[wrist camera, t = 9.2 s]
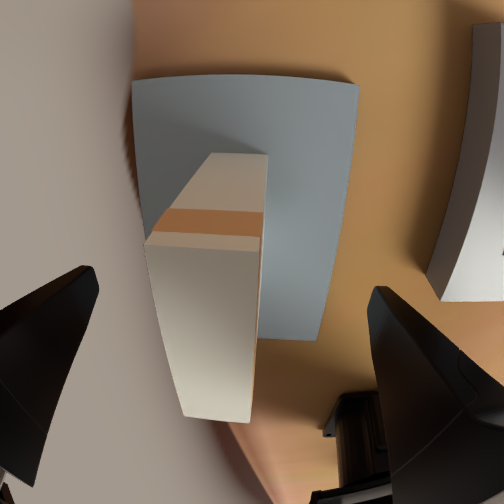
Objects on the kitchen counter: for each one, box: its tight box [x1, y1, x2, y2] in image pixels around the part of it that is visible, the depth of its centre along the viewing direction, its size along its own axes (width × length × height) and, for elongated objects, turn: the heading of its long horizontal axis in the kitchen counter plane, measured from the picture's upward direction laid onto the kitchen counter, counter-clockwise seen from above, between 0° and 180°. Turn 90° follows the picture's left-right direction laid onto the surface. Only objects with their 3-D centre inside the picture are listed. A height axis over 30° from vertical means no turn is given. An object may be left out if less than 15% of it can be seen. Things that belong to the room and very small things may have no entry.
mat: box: [131, 74, 360, 341], centre depth 13 cm, size 12×8×1 cm, turn 178°
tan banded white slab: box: [143, 153, 268, 423], centre depth 10 cm, size 6×2×6 cm, turn 178°
